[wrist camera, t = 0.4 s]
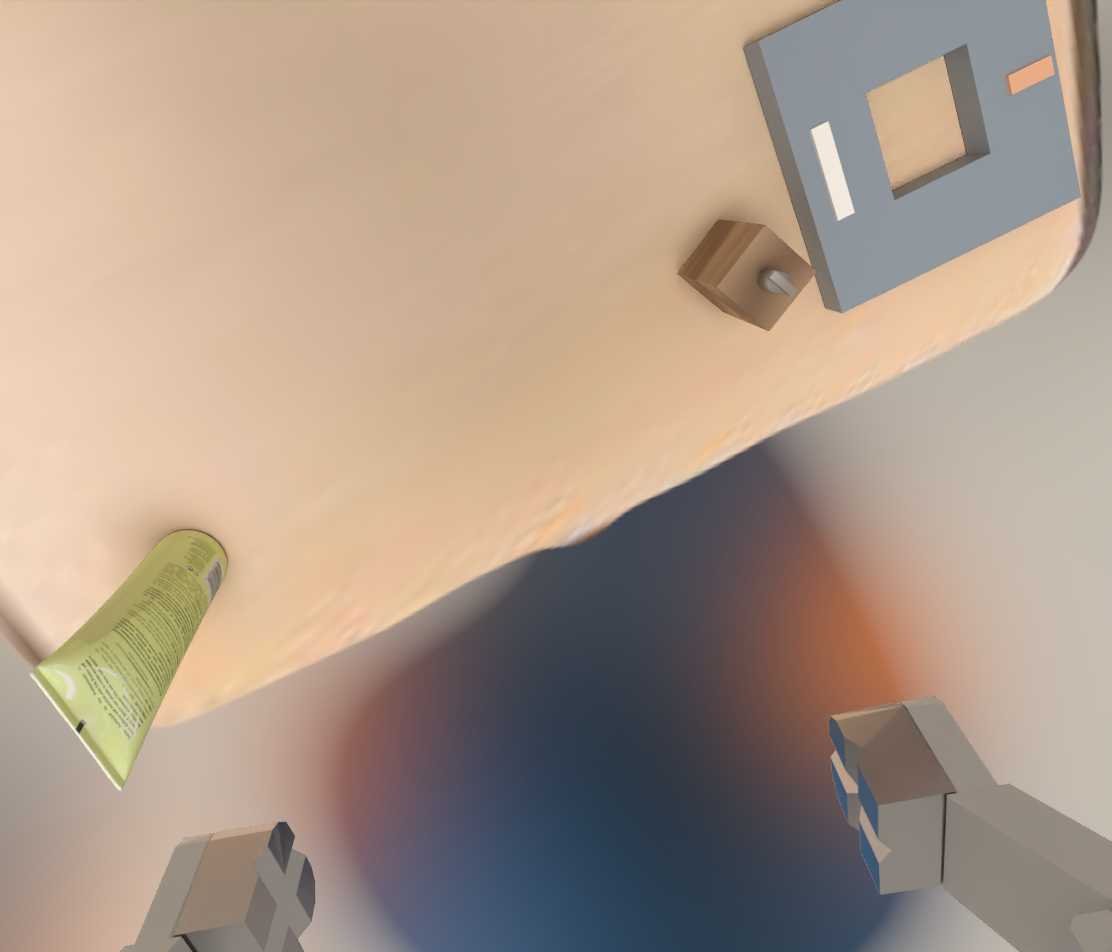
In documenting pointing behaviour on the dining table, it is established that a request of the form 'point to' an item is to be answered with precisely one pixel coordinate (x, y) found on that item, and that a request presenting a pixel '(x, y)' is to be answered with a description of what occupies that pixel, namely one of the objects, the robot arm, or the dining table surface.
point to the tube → (133, 650)
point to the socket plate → (853, 148)
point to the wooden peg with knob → (747, 272)
